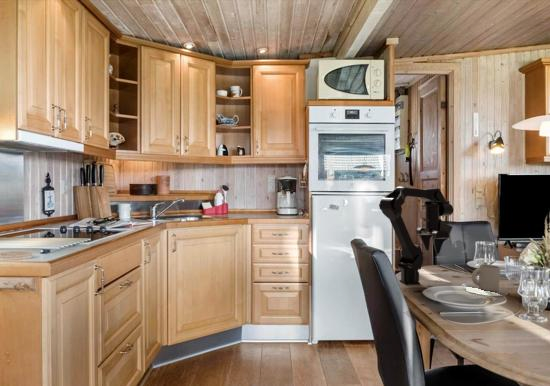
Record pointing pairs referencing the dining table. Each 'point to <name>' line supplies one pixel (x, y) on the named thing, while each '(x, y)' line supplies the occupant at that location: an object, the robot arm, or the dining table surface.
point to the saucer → (500, 291)
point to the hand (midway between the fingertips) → (432, 251)
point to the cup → (487, 277)
